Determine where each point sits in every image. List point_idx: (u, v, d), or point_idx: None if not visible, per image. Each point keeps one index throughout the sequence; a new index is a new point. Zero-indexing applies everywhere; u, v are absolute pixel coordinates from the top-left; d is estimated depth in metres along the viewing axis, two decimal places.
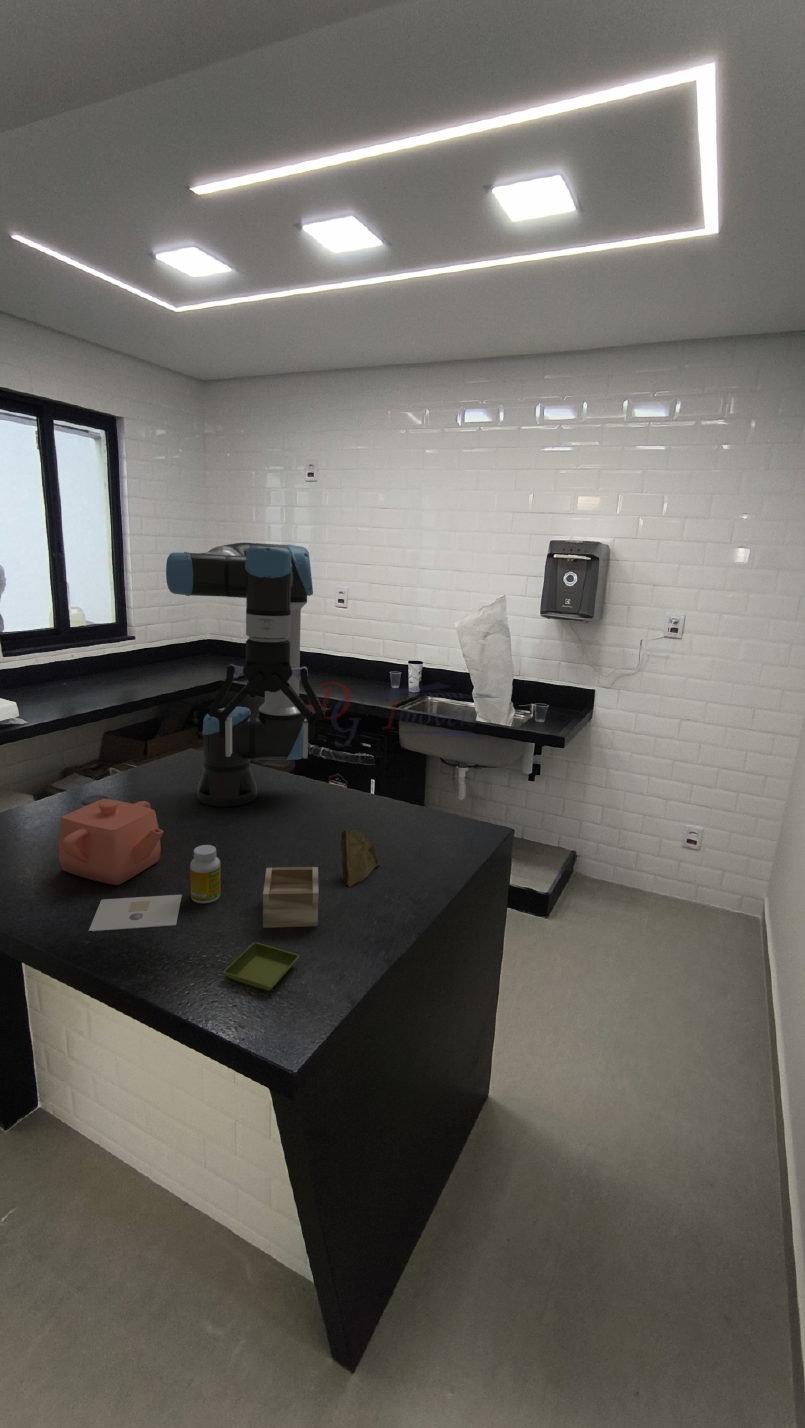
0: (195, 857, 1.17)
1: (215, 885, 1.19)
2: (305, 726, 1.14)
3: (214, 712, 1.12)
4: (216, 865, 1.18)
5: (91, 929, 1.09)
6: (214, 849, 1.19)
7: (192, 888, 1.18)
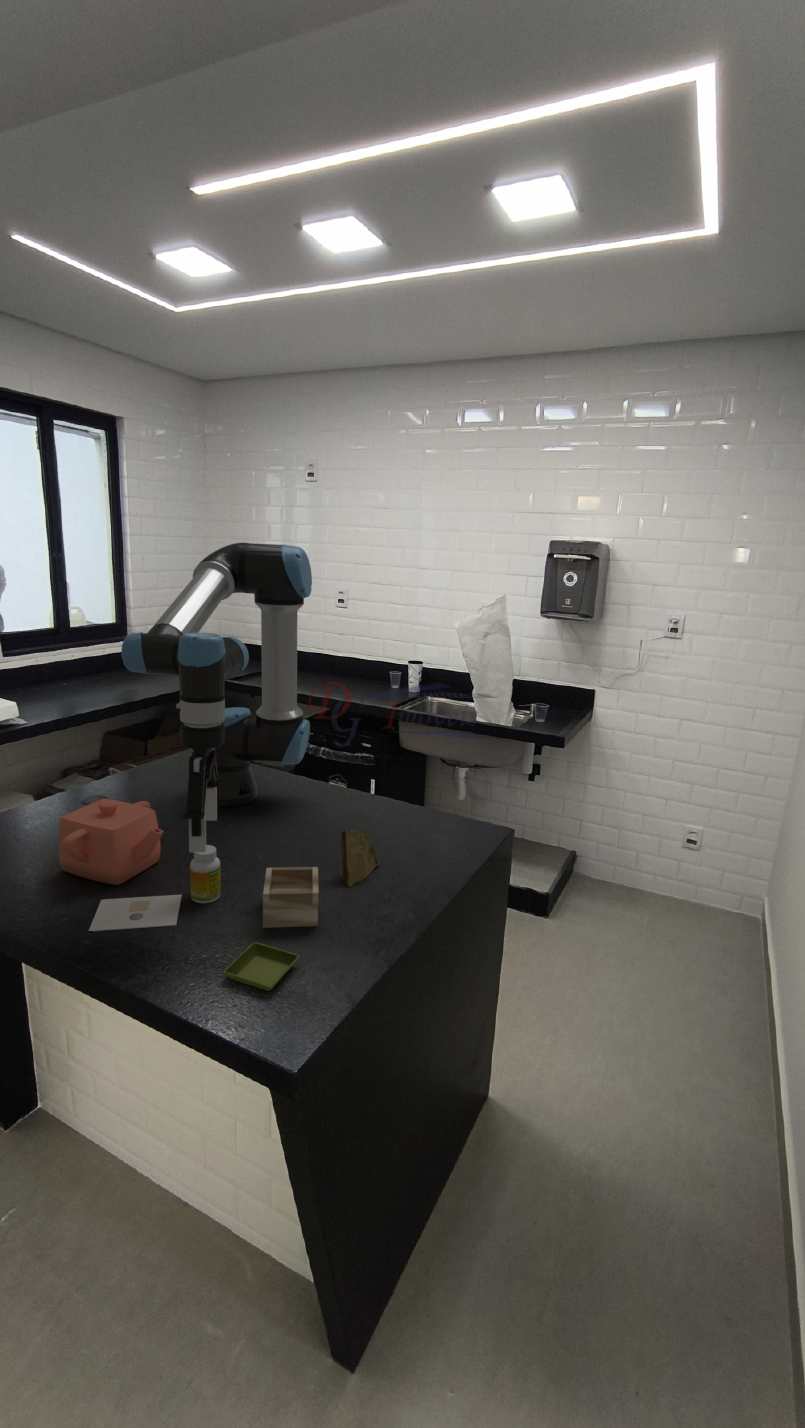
0: (195, 857, 1.17)
1: (215, 885, 1.19)
2: (189, 818, 1.09)
3: None
4: (216, 864, 1.18)
5: (91, 929, 1.09)
6: (214, 849, 1.19)
7: (192, 888, 1.18)
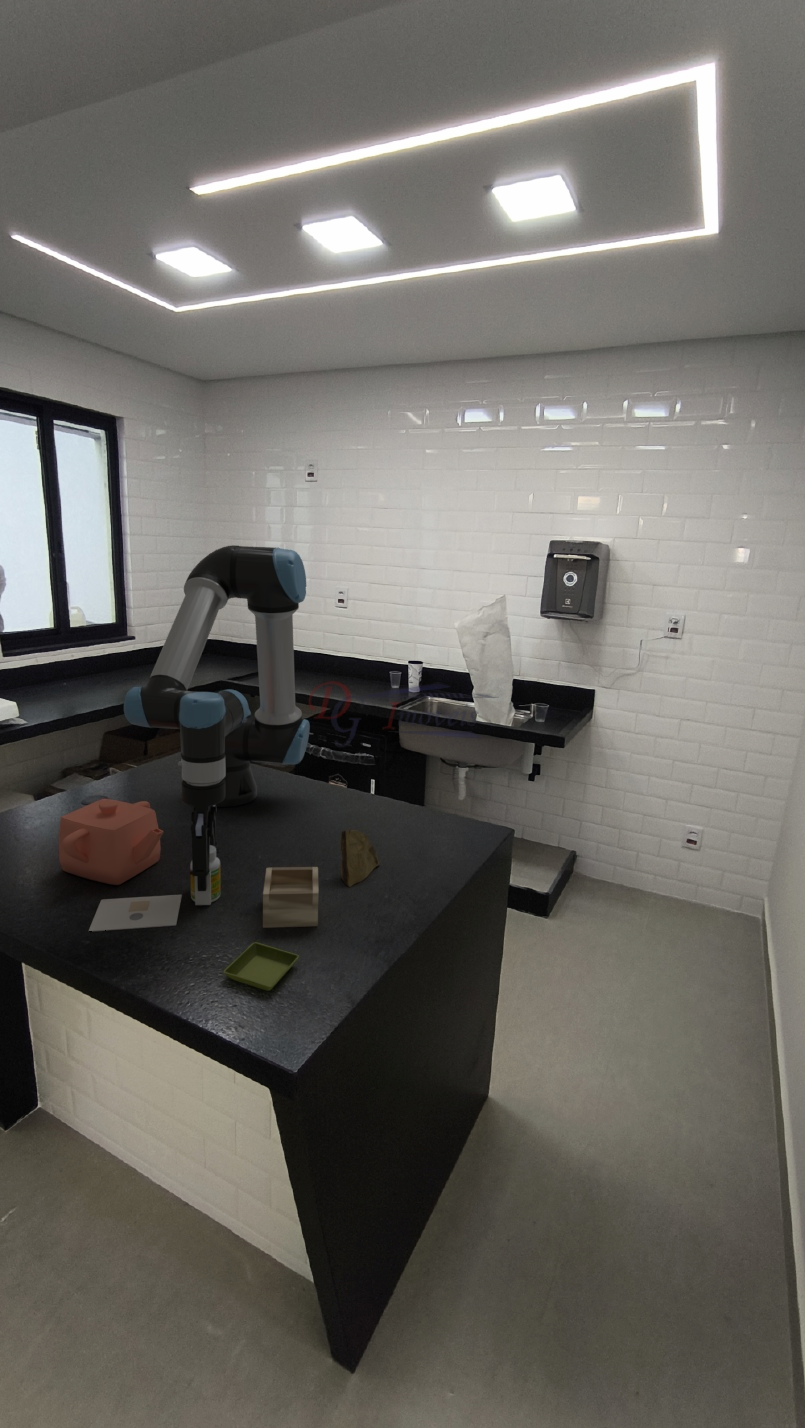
0: None
1: (215, 885, 1.19)
2: None
3: None
4: (216, 864, 1.18)
5: (91, 929, 1.09)
6: (214, 849, 1.19)
7: (192, 888, 1.18)
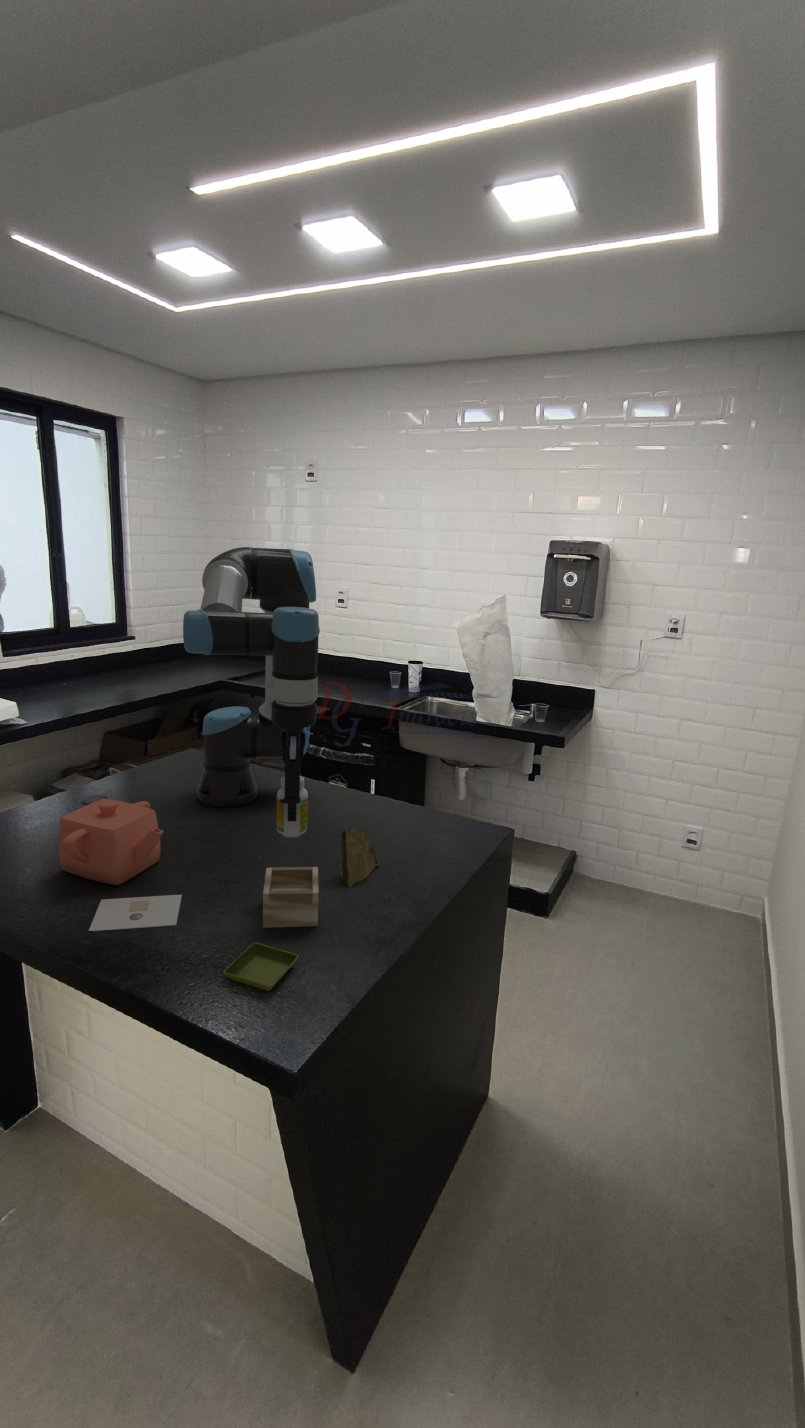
0: (283, 786, 1.10)
1: (304, 817, 1.11)
2: (284, 803, 1.09)
3: None
4: (305, 794, 1.11)
5: (91, 929, 1.09)
6: (302, 778, 1.11)
7: (279, 819, 1.11)
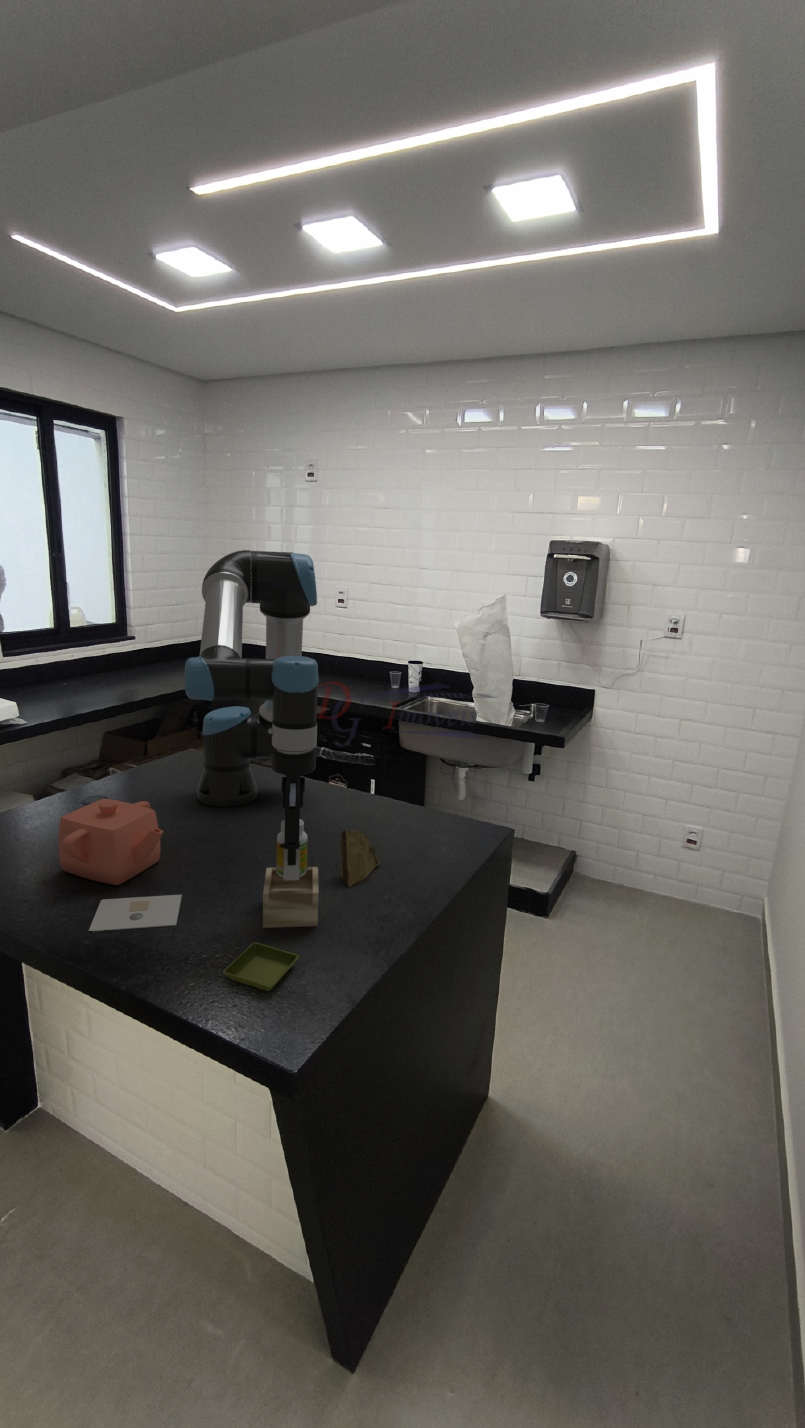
0: (283, 830, 1.12)
1: (303, 860, 1.14)
2: (284, 848, 1.11)
3: None
4: (304, 838, 1.13)
5: (91, 929, 1.09)
6: (302, 822, 1.13)
7: (279, 863, 1.13)
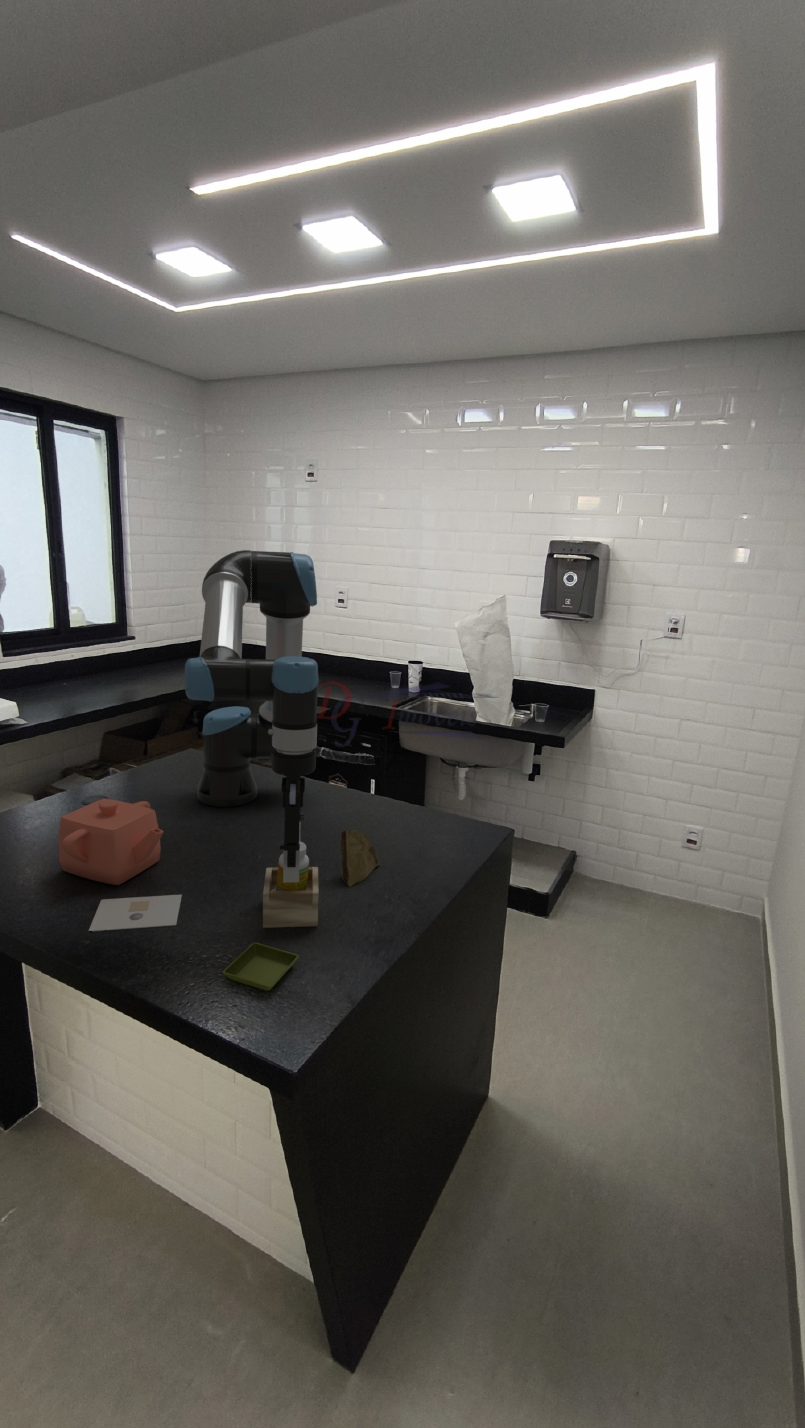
0: None
1: (303, 883, 1.15)
2: None
3: None
4: (306, 862, 1.14)
5: (91, 929, 1.09)
6: (304, 846, 1.14)
7: (279, 884, 1.14)
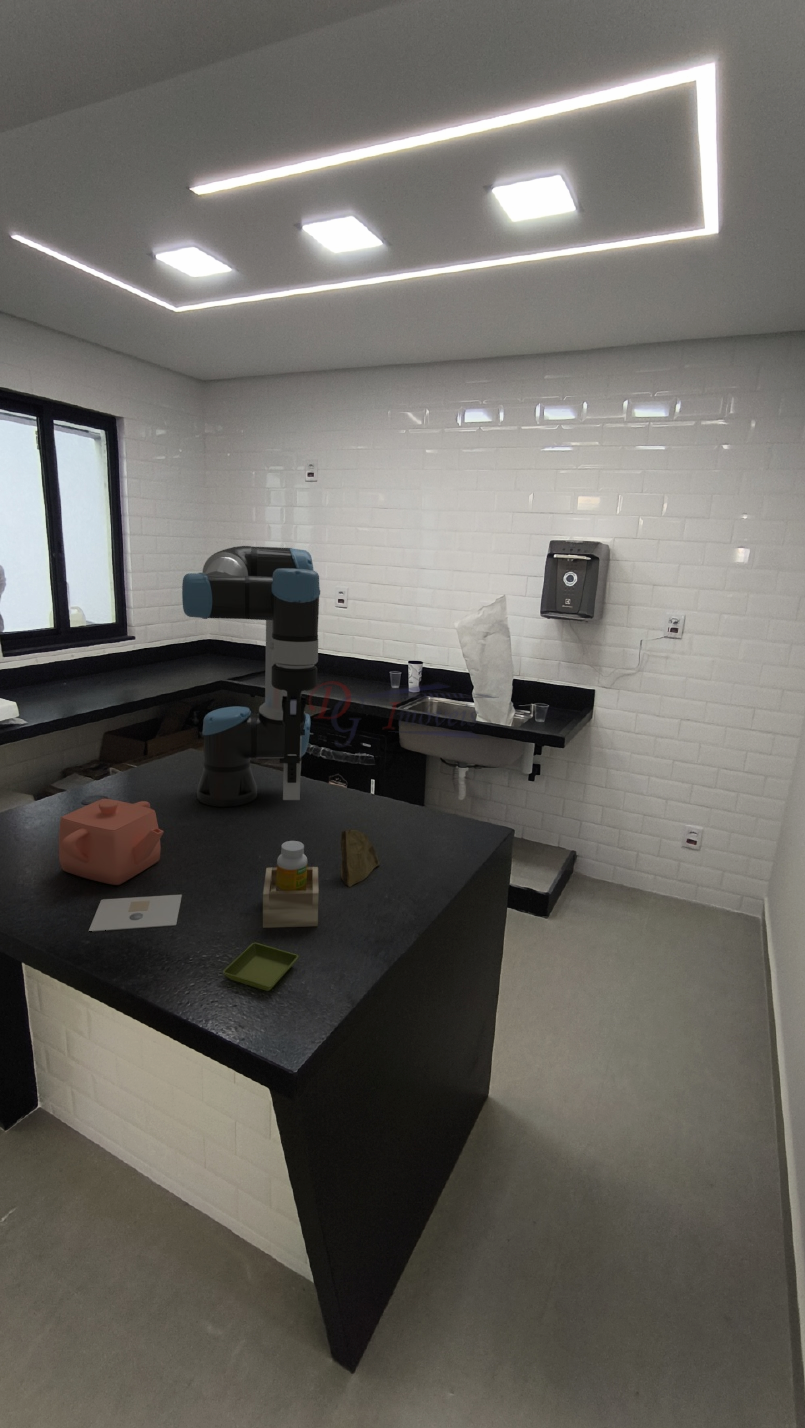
0: (283, 853, 1.13)
1: (302, 883, 1.15)
2: None
3: None
4: (304, 862, 1.14)
5: (91, 929, 1.09)
6: (302, 845, 1.15)
7: (278, 885, 1.14)
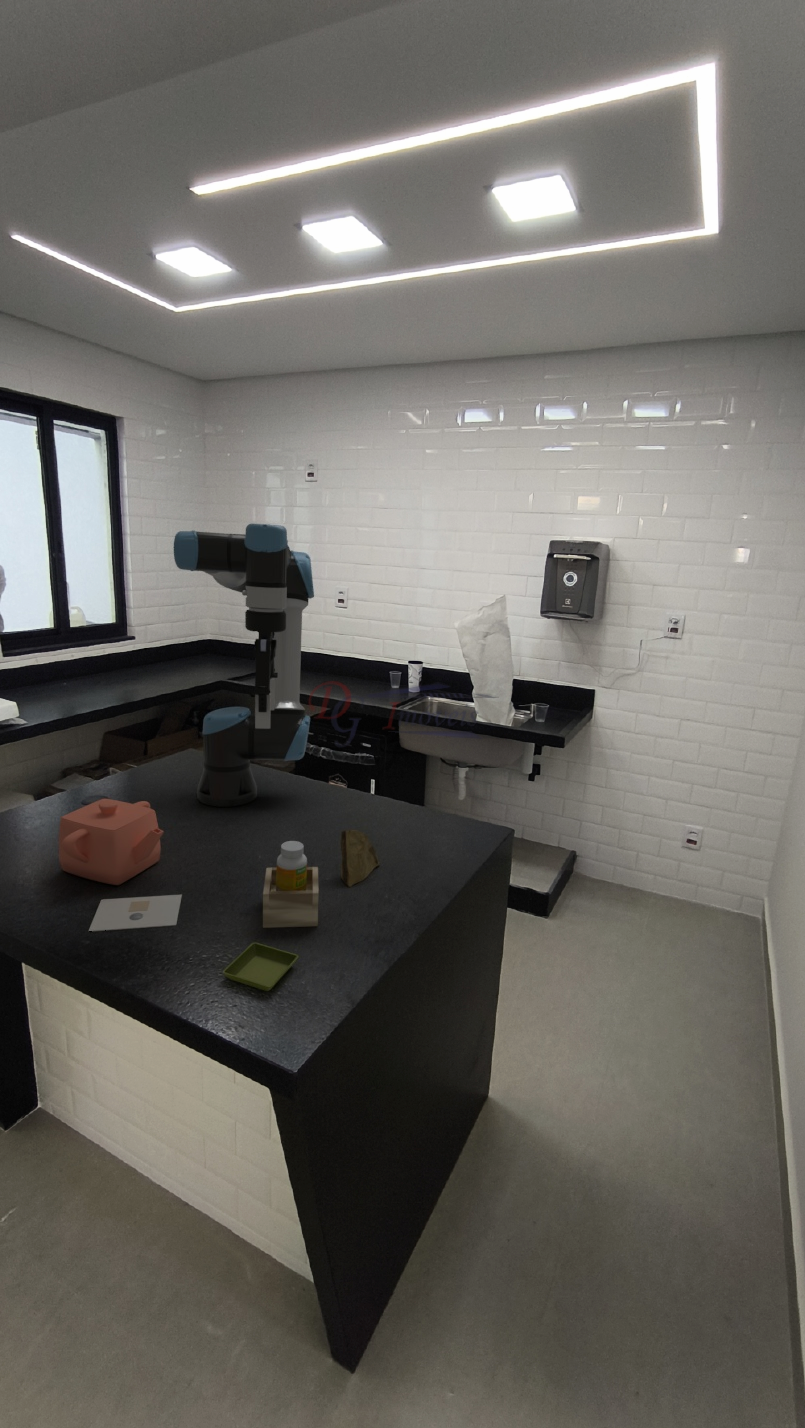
0: (282, 853, 1.13)
1: (302, 883, 1.15)
2: None
3: None
4: (303, 862, 1.14)
5: (91, 929, 1.09)
6: (302, 846, 1.15)
7: (278, 885, 1.14)
